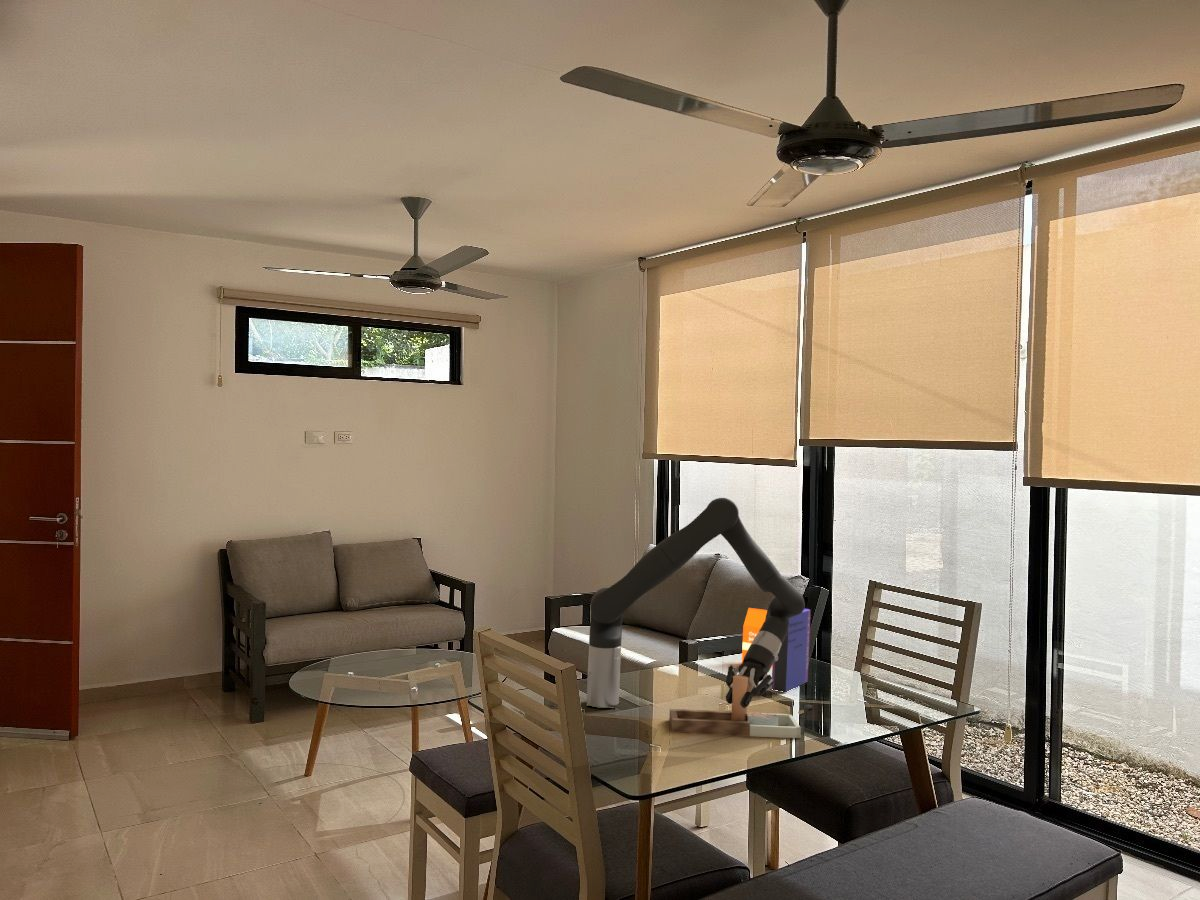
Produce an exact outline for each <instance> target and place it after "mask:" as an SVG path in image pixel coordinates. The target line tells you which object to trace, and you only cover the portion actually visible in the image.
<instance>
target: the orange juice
mask: <svg viewBox="0 0 1200 900" xmlns="http://www.w3.org/2000/svg"><path fill="white" fill-rule="evenodd" d="M767 610H768V609H767ZM767 610H766V609H761V608H754V607H753V608H752V607H748V609H747V612H746V616H745V618H744V619H745V620H744V623H743V626H742V627H743V628H742V648H741V649H742V653H741V664H742V663H743V659H744V656H745V654H746V653H747V651H748V649H749V647H750V645H751V643H752V641H753V640H754V638H755V636H756V635H757V634H758V632H759V630H760V629H761V627H762V625H763V623H764V621H765V618H766V614H767ZM772 665H773V664H772ZM770 669H772V666H771V668H770Z"/></svg>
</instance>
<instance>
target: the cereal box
mask: <svg viewBox="0 0 1200 900" xmlns="http://www.w3.org/2000/svg"><path fill="white" fill-rule="evenodd" d="M786 624H787V625H788V633H787V635H786V637H785V639H784V641H783V643H782V645H781V647H780V650H779V653H778V655H777V657H776V659H775V661H774V663H773V665H772V668H771V669H772V670H771V672H772V673H771V677H772V678H773V680H774V683H773V684H772V685H771V690H772V689H773V690H778V691H783V692H787V691H789V690H791V689H793V688H795V689H797V688H799V687H801V686H800V685H802V684H804V683H806V682H808V679H809V658H810V657H809V656H810V637H811V636H810V635H811V634H810V632H811V628H810V627H811V609H809V608H806V607H805V608H804V610H803V612H802V613H800V614H799V615H796V616H794V617H791V618H789V620H788V621H787V623H786ZM806 684H807V683H806ZM804 685H805V684H804ZM798 686H799V687H798ZM802 686H803V685H802ZM796 687H797V688H796ZM773 690H772V691H773ZM793 690H794V689H793ZM778 691H777V692H778ZM791 691H792V690H791ZM783 692H782V693H783ZM789 692H790V691H789ZM787 693H788V692H787Z"/></svg>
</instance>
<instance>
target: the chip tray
mask: <svg viewBox="0 0 1200 900" xmlns="http://www.w3.org/2000/svg"><path fill="white" fill-rule="evenodd" d="M761 713H762V714H774V715H777V717H778V726H769V725H750V733H749V735H750V736H749V737H760V738H761V737H763V738H769V737H770V738H782V739H783V738H785V739H786V738H787V739H801V737H802V736H801V732H802V727H801V726H800V725H799V723H798V722H797V720H796V719H795V718H794V717H793V716H794V715H792V713H771V712H769V713H768V712H767V713H766V712H761Z"/></svg>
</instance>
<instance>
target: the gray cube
mask: <svg viewBox="0 0 1200 900" xmlns="http://www.w3.org/2000/svg"><path fill="white" fill-rule="evenodd" d="M774 714H775V713H772V714H762V716H763V725H769V726H779V725H778V717H777V715H774Z"/></svg>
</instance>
